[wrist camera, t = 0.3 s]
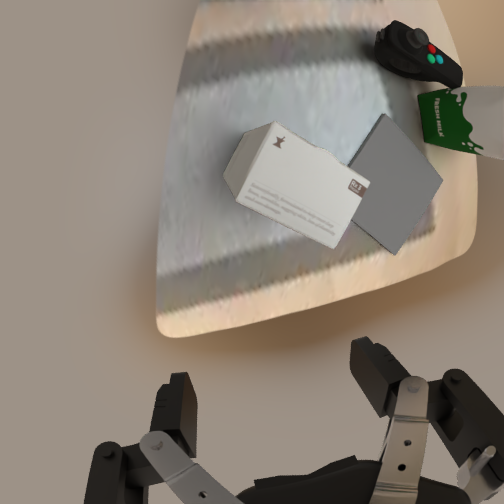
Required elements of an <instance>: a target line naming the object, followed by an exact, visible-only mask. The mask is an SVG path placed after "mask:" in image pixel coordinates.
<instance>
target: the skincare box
mask: <svg viewBox="0 0 504 504" xmlns="http://www.w3.org/2000/svg"><path fill="white" fill-rule="evenodd" d="M223 178H224V179H225V181H226V183H227V185H228V187H229V188H230V190H231V192H232V194H233V196H234V198H235V200H236V202H238V203H240V204H242V205H244V206H246V207H248V208H250V209H252V210H254V211H256V212H258V213H260V214H262V215H264V216H266V217H268V218H270V219H272V220H274V221H276V222H278V223H280V224H282V225H284V226H286V227H288V228H290V229H292V230H294V231H296V232H298V233H300V234H302V235H304V236H306V237H308V238H310V239H312V240H314V241H316V242H319V243H321V244H323V245H325V246H327V247H329V248H332V249H335V247H336V245H337V244H338V242H339V240H340V239H341V237H342V235H343V233H344V231H345V230H346V228H347V226H348V224H349V222H350V220H351V219H352V217H353V215H354V213H355V211H356V209H357V207H358V205H359V204H360V202H361V200H362V198H363V196H364V193H365V192H366V190H367V188H368V186H369V184H370V181H368V180H367V179H365V178H364V177H363V176H361V175H360V174H358V173H357V172H355V171H354V170H352V169H350V168H349V167H347V166H346V165H344V164H343V163H341V162H340V161H338V160H337V158H336V157H335V156H334V155H333V154H332V153H330V152H329V151H327V150H325V149H323V148H319V147H317V146H315V145H313V144H311V143H310V142H308V141H307V140H305V139H303V138H302V137H300V136H298V135H297V134H295V133H294V132H292V131H291V130H289V129H288V128H286V127H285V126H283V125H282V124H280V123H278V122H276V121H273V122H272V123H270V124H267V125H264V126H261V127H259V128H256V129H254V130H251V131H248V132H245V133H244V135H243V137H242V139H241V141H240V142H239V144H238V146H237V148H236V150H235V152H234V154H233V156H232V158H231V160H230V161H229V163H228V165H227V167H226V169H225V171H224V173H223Z"/></svg>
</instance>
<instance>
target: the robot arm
mask: <svg viewBox="0 0 504 504" xmlns="http://www.w3.org/2000/svg"><path fill="white" fill-rule="evenodd" d="M350 370H351V373H352V375H353V377H354V378H355V380H356V381H357V383H358V384H359V386H360V387H361V389H362V391H363V392H364V394H365V395H366V397H367V398H368V400H369V402H370V403H371V405H372V406H373V408H374V410H375V411H376V412H377V414H378V416H379V417H380V418H381V417H384V416H386V415H388V416H389V418H390V419H389V422H388V426H387V430H386V434H385V438H384V441H383V445H382V448H381V451H380V454H379V457H378V460H377V461H374V460H357V459H356V457H355V455H353V456H351V457H347V458H344V459H341V460H338V461H336V462H332V463H330V464H328V465H326V466H324V467H322V468H320V469H318V470H317V471H315V472H313V473H311V474H308V475H292V476H291V475H290V476H275V477H269V478H263V479H257V480H254V483H255V486H252V487H250V488H248V489H246V490H244V491H242V492H241V493H239V494H238V495H237V496H234V495H233V494H231V493H230V492H229V491H228V490H227V489H225V488H224V487H223V486H222V485H221V484H220V483H218V482H217V481H216V480H215V479H214V478H213V477H212V476H211V475H210V474H209V473H208V472H206V471H205V470H204V469H203V468H202V467H201V466H200V465H199V464H197V463H194V462H193V461H192V460H191V459H190V458H196V440H197V438H196V437H197V397H196V394H195V391H194V388H193V385H192V383H191V380H190V377H189V375H188V373H187V372H181V373H172V374H171V378H170V383H169V384H163V385H162V386H161V388H160V389H159V390H158V392H157V396H156V401H155V406H154V407H155V408H154V411H153V416H152V421H151V426H150V431H149V433H147V434H145V435H144V436H143V437H142V439H141V440H140V443H138V444H134V445H130V446H126V447H121V446H120V445H119V444H117V443H115V442H111V441H110V442H109V441H108V442H104V443H101V444H100V445H99V446H97V448H96V449H95V451H94V455H93V460H92V463H91V468H90V473H89V478H88V483H87V488H86V494H85V499H84V504H148V489H149V485H154V484H158V483H162V482H166V484H167V485H168V486H169V487H170V488H171V490H172V491H173V492H174V493H175V494H176V495H177V496H178V498H180V500H181V501H182V502H183V503H184V504H479V503H480V502H482V501H483V500H488V499H490V498H491V497H493V496H494V495H495V494H497V493H498V492H499V491H500V490H501V489H502V488H504V415H503V414H502V413H501V411H500V410H499V409H498V408H497V407H496V406H495V404H494V403H493V402H492V401H491V400H490V399H489V398H488V397H487V396H486V394H485V393H484V392H483V391H482V390H481V389H480V388H479V387H478V386H477V384H476V383H475V382H473V380H472V379H471V378H470V377H469V376H468V375H467V374H466V373H465V372H464V371H462V370H460V369H450V370H448V371H446V372H445V373H444V375H443V378H442V379H440V380H435V381H430V382H427V381H426V380H425V379H423V378H421V377H418V376H411V375H410V374H409V373H408V372H407V370H406V369H405V368H404V367H403V366H402V365H401V364H400V362H399V361H398V360H397V359H396V358H395V357H394V356H393V355H392V354H391V353H390V351H389V350H388V349H387V348H386V347H385V346H383V345H381V344H379V343H375V344H373V343H372V341H371V340H370V339H369V338H368V337H367V336H365V337H362V338H358V339H355V340H352V342H351V353H350ZM429 423H431V425H432V426H433V428H434V429H435V430H436V432H437V434H438V435H439V437H440V438H441V440H442V442H443V443H444V445H445V446H446V448H447V449H448V451H449V452H450V454H451V456H452V457H453V459H454V460H455V462H456V463H457V465H458V467H459V470H458V472H457V480H458V482H457V483H458V486H459V487H456V486H453V485H449V484H445V483H442V482H438V481H434V480H431V479H428V478H425V477H422V476H420V473H421V469H422V464H423V458H424V453H425V447H426V439H427V433H428V424H429Z"/></svg>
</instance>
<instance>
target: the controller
mask: <svg viewBox="0 0 504 504" xmlns="http://www.w3.org/2000/svg"><path fill="white" fill-rule="evenodd" d="M374 50H375V55H376V58H377V59H378V61H379V62H380V63H381V64H382V65H383V66H385V67H386V68H387V69H389V70H390V71H392V72H395V73H397V74H399V75H401V76H404V77H407V78H411V79H414V80H419V81H426V82H439V83H442V84H444V85H445V86H447V87H449V88H450V89H454V88H459V87H461V85H462V80H463V71H462V68H461V67H460V66H459V65H458V64H457V63H456V62H455V61H454V60H452V59H451V58H450V57H449V56H447V55H446V54H445V53H444V52H442V51H441V50H440V49H438V48H437V47H436V46H434V45H433V44H432V43H430V42H429V38H428V36H427V34H426V33H425V32H424V31H423V30H422V29H420V28H416V29H412V28H410V27H409V26H407V25H405V24H403V23H401V22H399V21H396V20H394V21H392V22H391V24H390V25H388V26H387V27H385V28H384V29H381V32H380V31H378V32H377V35H376V41H375V48H374Z"/></svg>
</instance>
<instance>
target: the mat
mask: <svg viewBox="0 0 504 504" xmlns="http://www.w3.org/2000/svg"><path fill="white" fill-rule="evenodd" d="M347 167H349V168H350V169H352V170H354V171H355V172H357V173H358V174H360V175H361V176H363V177H364V178H365V179H367V180H368V181H370V184H369V186H368V188H367V190H366V192H365V193H364V196H363V198H362V200H361V202H360V204H359V205H358V207H357V209H356V211H355V213H354V215H353V217H352V219H351V220H352V221H354V222H355V223H356V224H357V225H359V226H360V227H361V228H362V229H364V230H365V231H366V232H367V233H368V234H370V235H371V236H372V237H373V238H374V239H376V240H377V241H378V242H379V243H380V244H382V245H383V246H384V247H385V248H386V249H387V250H389V251H390V252H391V253H392V254H393V255H396V254H397V252H398V251H399V249H400V248H401V247H402V245H403V244H404V242H405V241H406V239H407V238H408V236H409V235H410V233H411V232H412V230H413V229H414V227H415V226H416V224H417V223H418V221H419V220H420V218H421V217H422V215H423V213H424V212H425V210H426V209H427V207H428V205H429V204H430V202H431V200H432V199H433V197H434V195H435V194H436V192H437V190H438V189H439V187H440V185H441V183H442V182H443V179H442V178H441V177H440V175H439V174H438V173H437V171H436V170H435V169H434V167H433V166H432V165H431V164H430V162H429V161H428V160H427V159H426V158H425V156H424V155H423V154H422V153H421V152H420V150H419V149H418V148H417V147H416V146H415V145H414V143H413V142H412V141H411V140H410V139H409V138H408V137H407V136H406V135H405V133H404V132H403V131H402V130H401V129H400V128H399V127H398V126H397V125H396V124H395V123H394V122H393V121H392V120H391V119H390V118H389V117H388V116H387V115H386V114H382V115H381V116H380V118H379V119H378V121H377V123H376V124H375V126H374V127H373V129H372V130H371V132H370V133H369V135H368V136H367V138H366V139H365V141H364V142H363V144H362V145H361V147H360V148H359V150H358V151H357V153H356V154H355V156H354V157H353V159H352V160H351V162H350V163H349V165H348V166H347Z"/></svg>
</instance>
